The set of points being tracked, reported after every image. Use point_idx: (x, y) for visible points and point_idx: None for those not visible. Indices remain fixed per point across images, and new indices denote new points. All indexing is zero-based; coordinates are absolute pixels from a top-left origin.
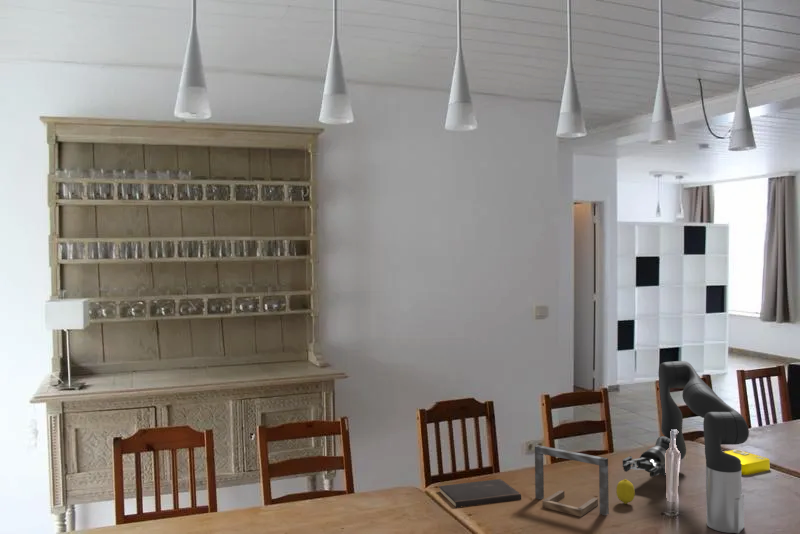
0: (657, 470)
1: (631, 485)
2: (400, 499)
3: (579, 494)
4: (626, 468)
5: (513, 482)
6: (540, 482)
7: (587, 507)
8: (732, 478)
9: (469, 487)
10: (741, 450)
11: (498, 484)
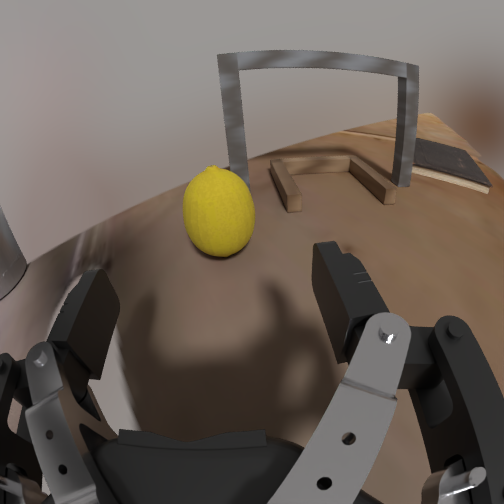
0: (51, 341)
1: (187, 187)
2: (443, 141)
3: (385, 232)
4: (313, 265)
5: (496, 208)
6: (395, 143)
7: (275, 173)
8: None
9: (455, 155)
10: None
11: (463, 171)
